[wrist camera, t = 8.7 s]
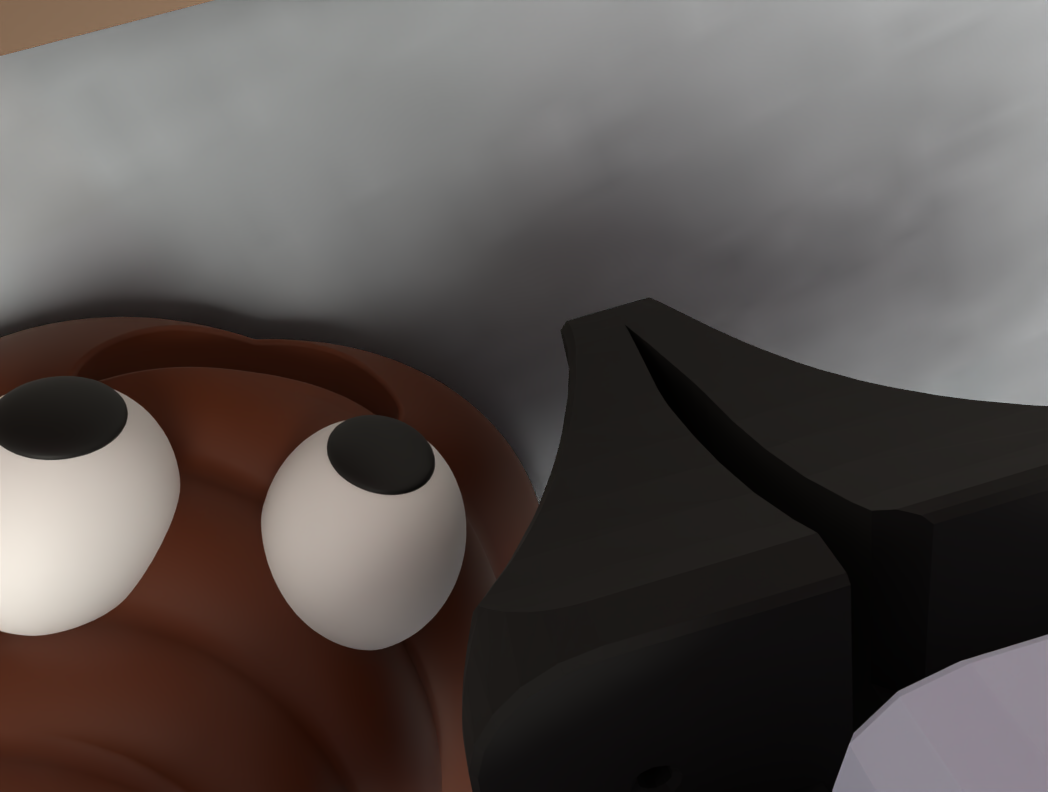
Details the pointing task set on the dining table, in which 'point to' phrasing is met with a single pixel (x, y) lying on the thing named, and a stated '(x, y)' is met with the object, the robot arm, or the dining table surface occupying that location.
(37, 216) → the dining table surface
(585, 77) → the dining table surface
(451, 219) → the dining table surface
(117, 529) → the poop emoji
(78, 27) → the frame
